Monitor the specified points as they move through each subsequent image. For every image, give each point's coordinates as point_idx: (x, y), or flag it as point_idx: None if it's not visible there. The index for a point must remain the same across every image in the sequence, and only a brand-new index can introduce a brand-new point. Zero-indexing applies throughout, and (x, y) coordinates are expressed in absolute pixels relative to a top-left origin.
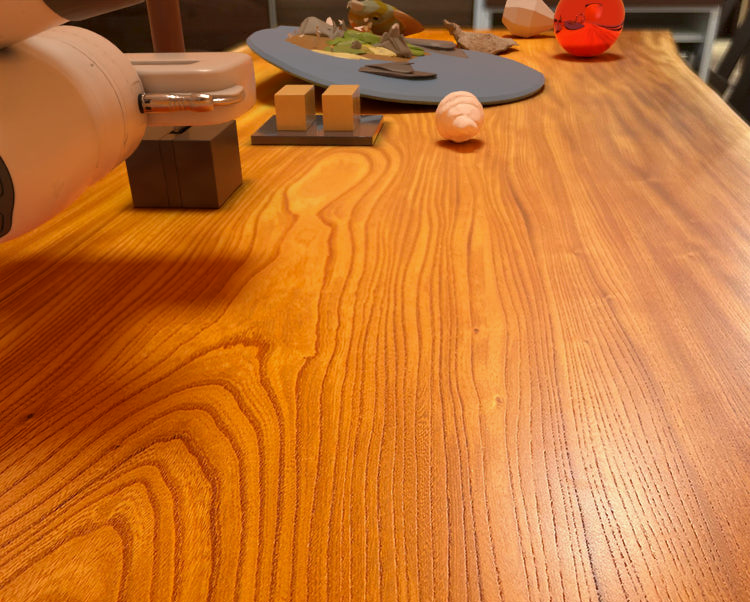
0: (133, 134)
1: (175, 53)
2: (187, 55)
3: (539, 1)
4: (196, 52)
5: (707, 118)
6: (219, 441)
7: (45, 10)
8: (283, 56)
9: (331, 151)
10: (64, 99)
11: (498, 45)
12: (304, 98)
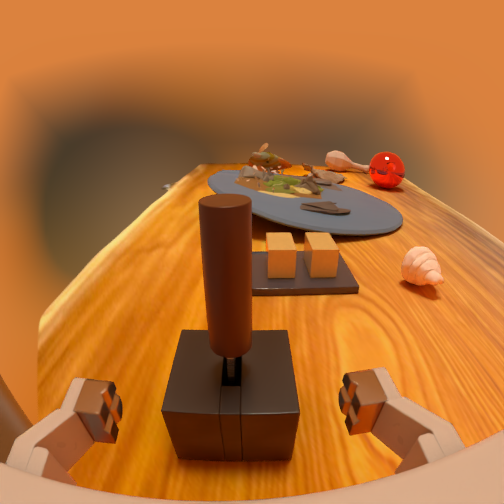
0: None
1: (443, 491)
2: (488, 500)
3: (345, 155)
4: (480, 461)
5: (501, 247)
6: None
7: None
8: None
9: (330, 305)
10: None
11: (338, 178)
12: (296, 252)
